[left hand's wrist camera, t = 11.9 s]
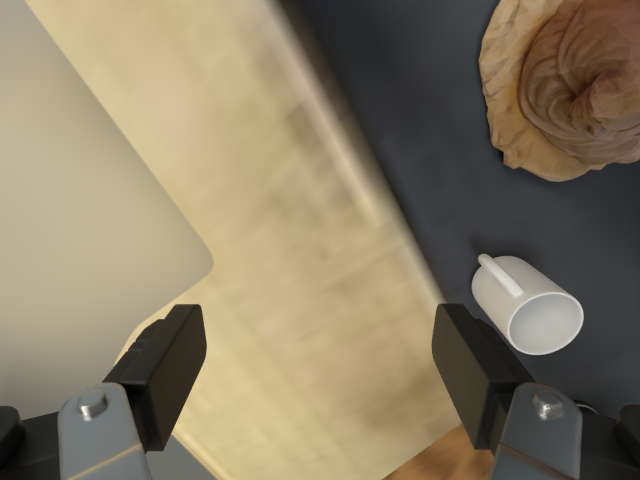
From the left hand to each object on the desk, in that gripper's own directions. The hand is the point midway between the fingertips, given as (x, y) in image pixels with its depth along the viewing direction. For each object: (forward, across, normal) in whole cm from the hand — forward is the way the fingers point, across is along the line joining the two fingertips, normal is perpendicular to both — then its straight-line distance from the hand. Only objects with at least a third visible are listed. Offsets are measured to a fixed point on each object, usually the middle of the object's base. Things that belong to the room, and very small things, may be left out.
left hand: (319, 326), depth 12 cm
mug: (+33, +24, -14) cm, 43 cm away
